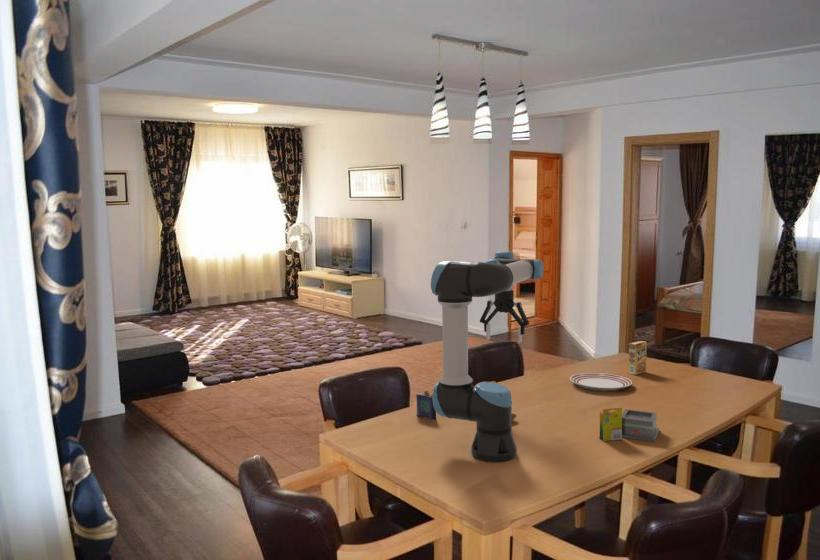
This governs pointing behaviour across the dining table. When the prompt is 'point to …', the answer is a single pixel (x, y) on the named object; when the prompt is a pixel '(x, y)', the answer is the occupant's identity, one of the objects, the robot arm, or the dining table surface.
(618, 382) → the dinner plate
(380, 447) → the dining table surface
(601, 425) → the crayon box
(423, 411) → the flask
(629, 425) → the stand
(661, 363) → the dining table surface
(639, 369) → the candy box
